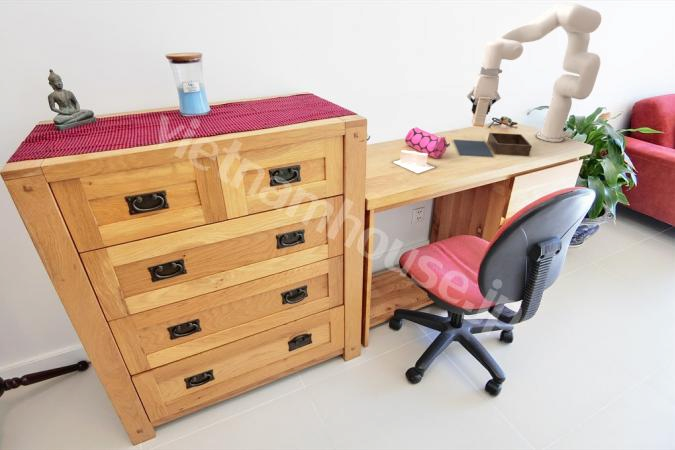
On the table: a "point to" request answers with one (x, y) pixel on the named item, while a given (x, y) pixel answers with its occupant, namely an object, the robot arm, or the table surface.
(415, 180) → the table surface
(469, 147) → the mat
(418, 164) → the napkin holder
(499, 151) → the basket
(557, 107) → the robot arm
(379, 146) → the table surface
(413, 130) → the pencil case
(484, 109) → the supplement box
